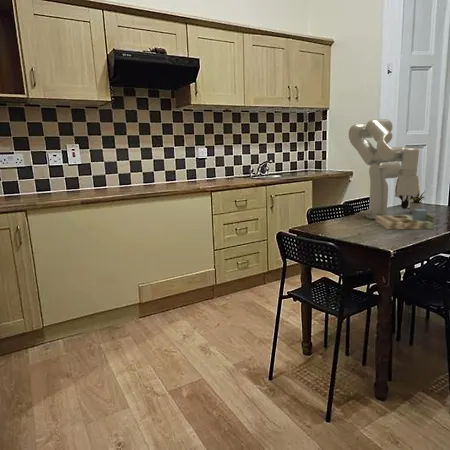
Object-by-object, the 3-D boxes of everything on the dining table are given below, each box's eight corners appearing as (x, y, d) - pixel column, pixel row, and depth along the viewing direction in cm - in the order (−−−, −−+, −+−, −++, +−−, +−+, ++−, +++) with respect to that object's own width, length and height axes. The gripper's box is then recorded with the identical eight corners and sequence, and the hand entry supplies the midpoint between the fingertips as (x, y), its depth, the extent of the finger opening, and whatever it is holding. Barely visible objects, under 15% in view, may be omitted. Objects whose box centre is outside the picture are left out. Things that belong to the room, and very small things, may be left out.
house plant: (395, 211, 230) (397, 184, 227) (417, 210, 231) (419, 183, 228) (409, 215, 216) (411, 187, 213) (431, 214, 217) (434, 186, 214)
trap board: (387, 229, 184) (388, 217, 183) (375, 221, 204) (376, 210, 202) (433, 228, 182) (434, 216, 181) (417, 220, 201) (418, 209, 200)
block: (415, 220, 188) (416, 210, 187) (412, 218, 193) (412, 208, 192) (426, 220, 188) (427, 210, 187) (422, 218, 193) (423, 208, 192)
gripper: (395, 173, 184) (391, 209, 189) (426, 173, 183) (422, 209, 188) (390, 172, 192) (387, 206, 196) (420, 171, 190) (416, 206, 195)
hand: (404, 208), depth 192 cm, fingers closed
